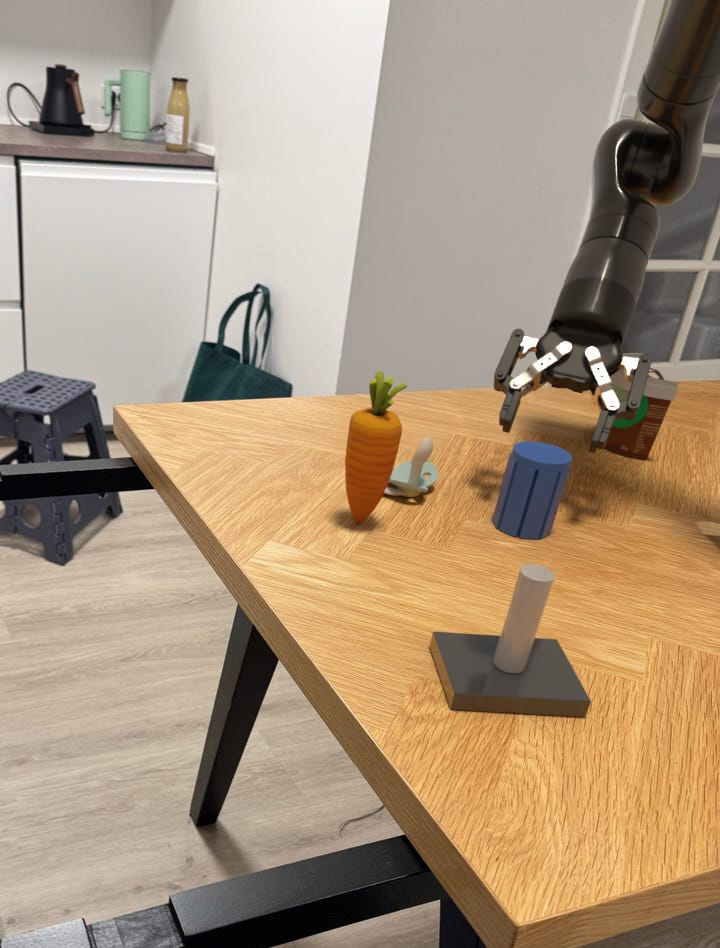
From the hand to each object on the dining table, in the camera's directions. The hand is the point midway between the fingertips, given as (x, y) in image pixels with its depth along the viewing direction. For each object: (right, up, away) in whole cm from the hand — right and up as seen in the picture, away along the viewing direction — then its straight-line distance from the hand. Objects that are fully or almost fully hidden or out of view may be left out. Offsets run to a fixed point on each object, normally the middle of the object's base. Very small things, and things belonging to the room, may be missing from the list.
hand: (548, 439), depth 88 cm
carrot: (-19, -9, -1) cm, 21 cm away
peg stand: (-11, -23, -21) cm, 33 cm away
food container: (+16, +5, +25) cm, 30 cm away
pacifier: (-13, -4, +7) cm, 16 cm away
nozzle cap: (-2, -8, +2) cm, 9 cm away
